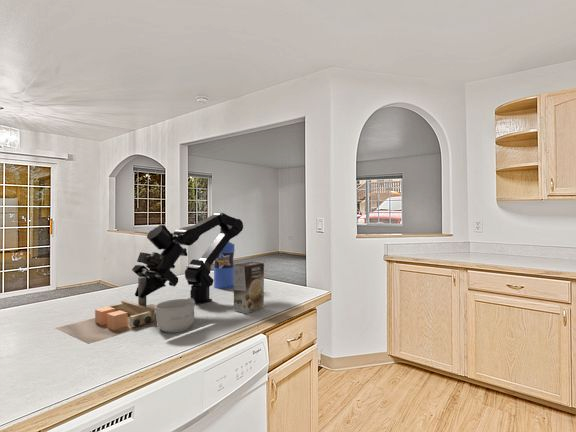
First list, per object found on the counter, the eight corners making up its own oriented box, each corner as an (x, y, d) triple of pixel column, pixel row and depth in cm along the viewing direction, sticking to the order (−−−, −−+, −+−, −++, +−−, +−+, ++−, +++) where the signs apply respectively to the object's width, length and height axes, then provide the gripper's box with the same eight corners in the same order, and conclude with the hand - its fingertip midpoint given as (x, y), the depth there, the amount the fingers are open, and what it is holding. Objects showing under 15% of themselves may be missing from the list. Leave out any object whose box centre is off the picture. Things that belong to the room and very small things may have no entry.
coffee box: (247, 314, 114) (246, 266, 114) (233, 310, 118) (233, 264, 118) (264, 307, 122) (264, 262, 121) (250, 304, 125) (250, 261, 125)
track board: (151, 305, 124) (151, 303, 124) (187, 315, 113) (187, 313, 113) (55, 330, 99) (55, 328, 99) (88, 346, 88) (88, 343, 88)
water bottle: (214, 284, 159) (214, 230, 159) (235, 284, 160) (234, 230, 160) (212, 289, 150) (212, 232, 150) (234, 288, 151) (233, 232, 151)
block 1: (108, 319, 107) (108, 306, 107) (115, 321, 105) (115, 308, 105) (95, 322, 104) (95, 309, 104) (101, 325, 102) (101, 311, 102)
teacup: (172, 339, 92) (172, 310, 92) (147, 332, 98) (146, 304, 97) (210, 324, 104) (209, 298, 104) (185, 318, 109) (185, 294, 109)
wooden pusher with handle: (130, 309, 117) (130, 273, 117) (162, 318, 106) (162, 280, 106) (102, 316, 109) (101, 278, 109) (133, 327, 99) (132, 285, 98)
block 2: (120, 323, 103) (120, 310, 103) (127, 326, 101) (127, 312, 101) (106, 327, 100) (106, 313, 100) (114, 329, 98) (113, 316, 97)
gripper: (137, 241, 119) (105, 278, 110) (170, 244, 108) (137, 286, 99) (157, 261, 125) (128, 297, 117) (190, 266, 115) (161, 306, 106)
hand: (138, 296), depth 109 cm, fingers closed on wooden pusher with handle, 2 cm apart
